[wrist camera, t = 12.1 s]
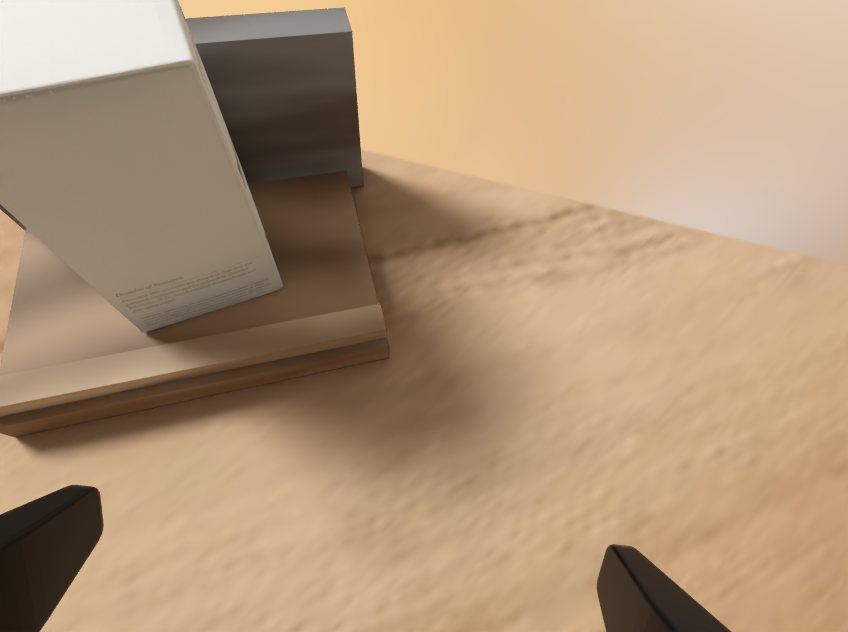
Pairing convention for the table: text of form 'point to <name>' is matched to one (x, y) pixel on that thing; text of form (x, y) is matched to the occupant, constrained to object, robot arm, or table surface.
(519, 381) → the table surface
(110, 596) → the table surface
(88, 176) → the supplement box
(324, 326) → the ledge
